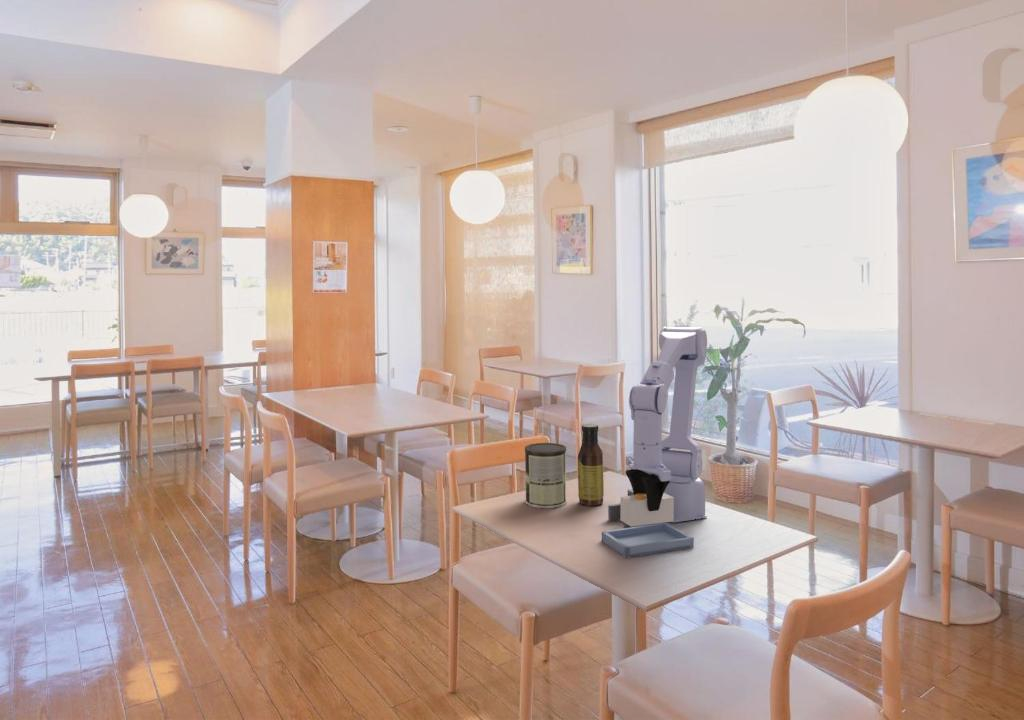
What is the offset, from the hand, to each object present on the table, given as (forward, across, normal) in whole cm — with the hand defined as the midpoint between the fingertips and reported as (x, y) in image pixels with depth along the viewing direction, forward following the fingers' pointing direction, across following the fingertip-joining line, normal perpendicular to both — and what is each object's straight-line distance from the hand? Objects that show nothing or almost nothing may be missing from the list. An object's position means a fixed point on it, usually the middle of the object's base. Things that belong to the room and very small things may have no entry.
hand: (647, 506), depth 149 cm
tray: (+8, 0, 0) cm, 8 cm away
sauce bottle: (+8, -30, +2) cm, 31 cm away
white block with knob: (+3, 0, 0) cm, 3 cm away
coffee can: (+8, -35, -8) cm, 37 cm away
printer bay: (+8, -13, +4) cm, 16 cm away
